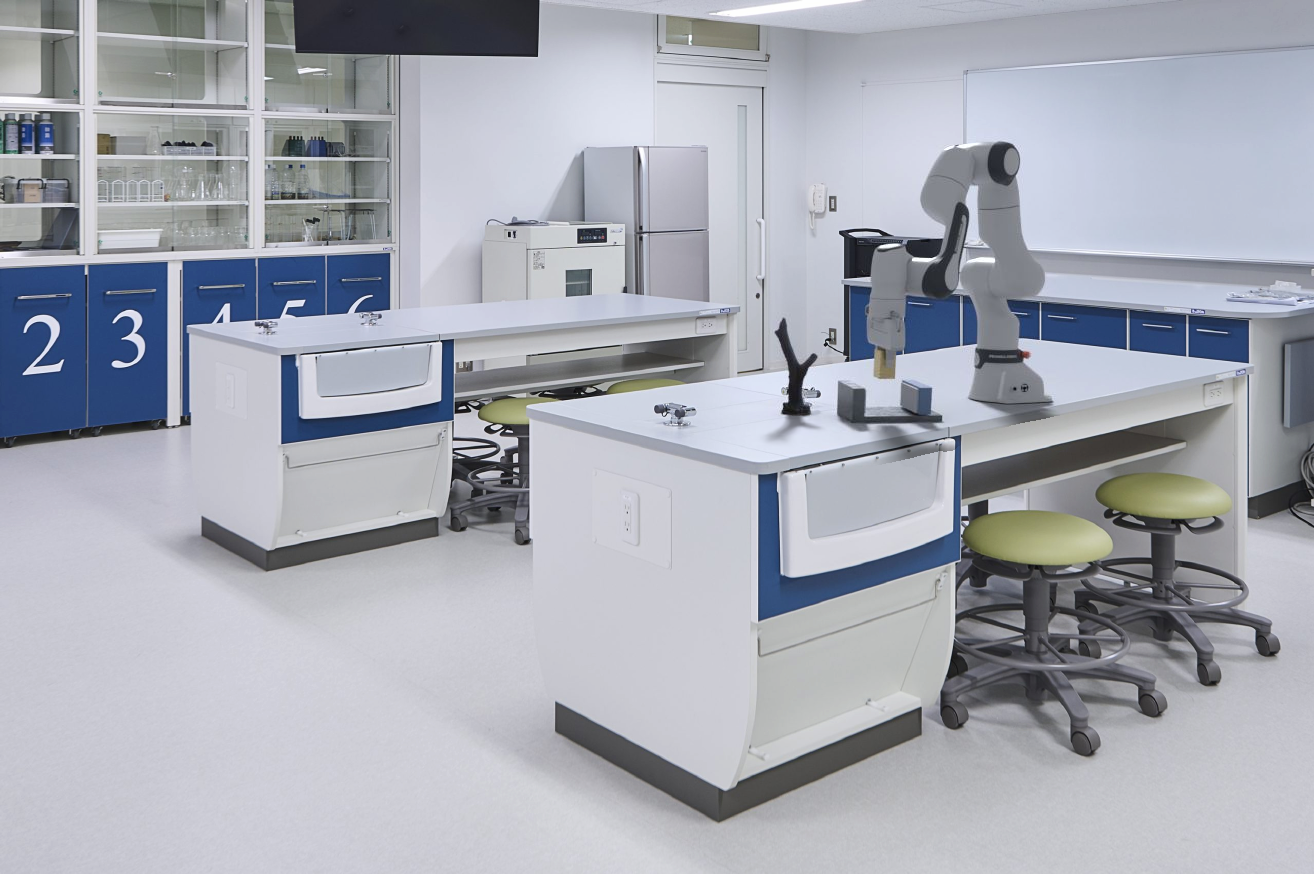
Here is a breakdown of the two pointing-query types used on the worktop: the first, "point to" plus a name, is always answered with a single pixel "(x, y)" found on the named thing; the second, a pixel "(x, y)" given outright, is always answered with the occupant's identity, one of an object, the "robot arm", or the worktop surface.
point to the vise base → (873, 408)
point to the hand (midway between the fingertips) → (884, 365)
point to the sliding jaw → (916, 397)
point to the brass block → (883, 365)
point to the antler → (794, 374)
